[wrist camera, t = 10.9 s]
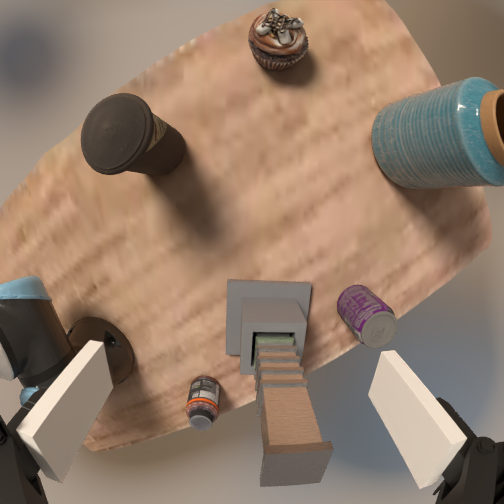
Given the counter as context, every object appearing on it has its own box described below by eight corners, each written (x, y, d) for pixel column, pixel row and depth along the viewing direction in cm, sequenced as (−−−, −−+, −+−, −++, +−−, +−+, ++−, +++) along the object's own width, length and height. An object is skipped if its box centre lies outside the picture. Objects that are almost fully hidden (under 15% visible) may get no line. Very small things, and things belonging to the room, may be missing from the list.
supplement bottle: (210, 400, 55) (205, 438, 44) (185, 386, 54) (176, 424, 43) (226, 384, 54) (224, 422, 43) (201, 369, 53) (194, 407, 42)
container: (197, 144, 45) (167, 115, 25) (164, 188, 46) (114, 190, 26) (157, 116, 43) (108, 77, 24) (126, 159, 45) (61, 147, 25)
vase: (436, 196, 48) (543, 212, 22) (364, 179, 47) (471, 179, 21) (440, 117, 44) (540, 94, 18) (370, 92, 43) (463, 35, 17)
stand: (226, 350, 53) (222, 389, 41) (227, 279, 50) (223, 306, 38) (300, 351, 53) (313, 389, 42) (309, 282, 50) (328, 309, 39)
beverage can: (361, 322, 52) (388, 353, 41) (330, 314, 52) (351, 347, 40) (376, 288, 51) (407, 313, 39) (344, 279, 50) (370, 304, 39)
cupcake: (240, 67, 42) (240, 41, 32) (255, 25, 40) (258, -5, 30) (296, 81, 43) (308, 58, 33) (307, 38, 41) (321, 11, 31)
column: (251, 360, 43) (260, 486, 20) (253, 328, 41) (265, 454, 19) (288, 360, 43) (319, 482, 20) (292, 328, 42) (333, 449, 19)
